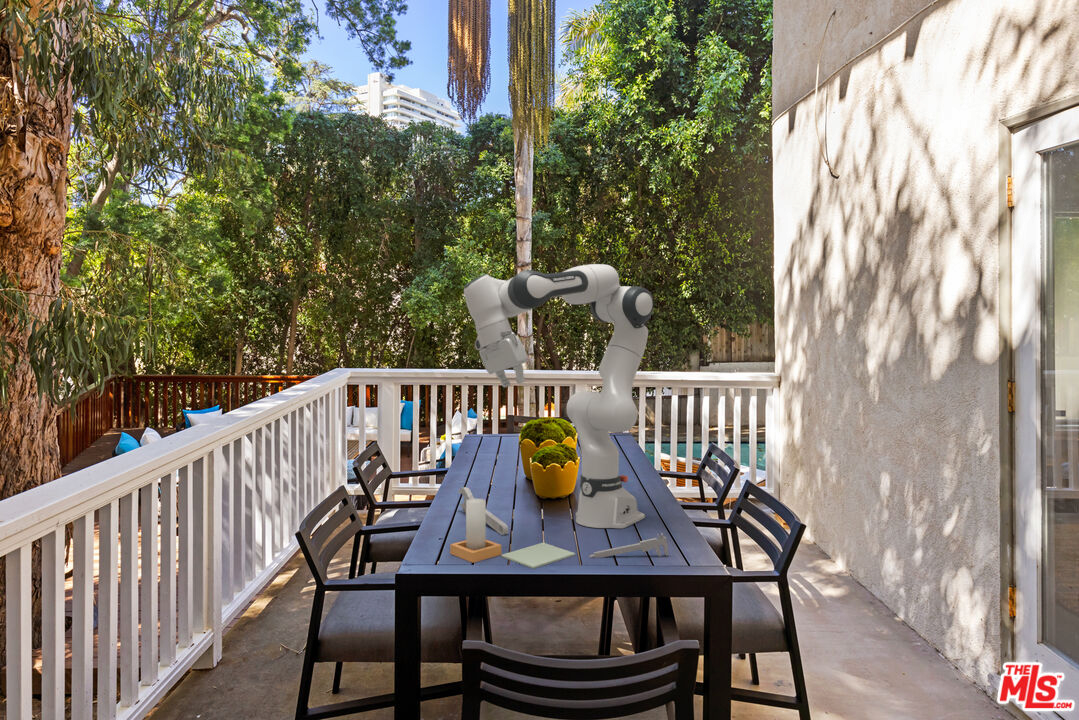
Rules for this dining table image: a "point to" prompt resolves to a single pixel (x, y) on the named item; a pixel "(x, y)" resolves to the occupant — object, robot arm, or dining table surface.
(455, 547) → the orange square frame
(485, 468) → the dining table surface
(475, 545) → the tall white pillar
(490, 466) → the dining table surface
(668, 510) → the dining table surface
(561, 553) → the mat
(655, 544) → the caliper
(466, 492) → the wrench
